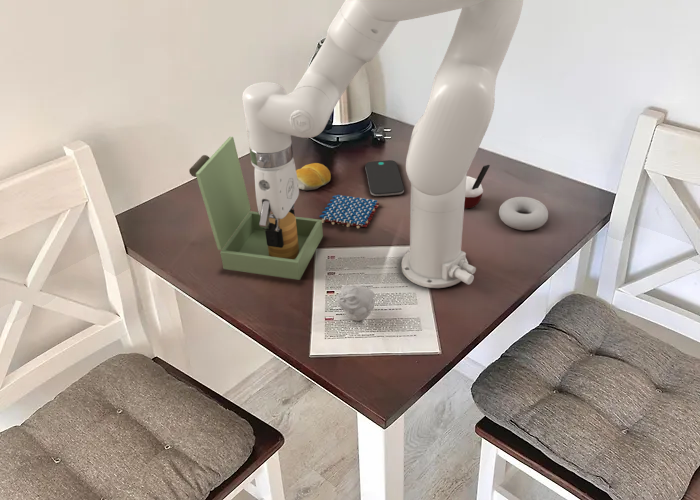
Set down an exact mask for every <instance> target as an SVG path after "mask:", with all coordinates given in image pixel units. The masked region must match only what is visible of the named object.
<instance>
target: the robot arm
mask: <svg viewBox="0 0 700 500" xmlns="http://www.w3.org/2000/svg"><path fill="white" fill-rule="evenodd" d="M343 1H344V2H343V3H342V5H341V7H340V8H339V10H338V11H337V13H336V14H335V16H334V18H333V19H332V21H331V22H330V24H329V26H328V28H327V31H326V37H325V38H324V41H323V43H322V45H321V46H320V48H319V50H318V51H317V53H316V54H315V56H314V58H313V59H312V61H311V63H310V64H309V66H308V68H307V69H306V71H305V72H304V74H303V76H302V77H301V78H300V80H299V81H298V83H297V85H296V86H295V88H294V89H293V90H292V91H291V92H289V93H287V91H286V89H285V87H284V86H283V85H281V84H279V83H277V82H273V81H261V82H255V83H252V84H251V85H248V86H247V87H245V89H244V90H243V92H242V96H241V100H242V108H243V114H244V121H245V128H246V135H247V141H248V147H249V156H250V163H251V165H252V166H253V167H254V189H255V200H256V206H257V212H259V215H260V216H261V218H260V223H259V225H260V227H262V228H263V229H264V230H265V233H266V240H267V245H268V246H271V247H279V248H282V247H283V246H284V242H283V234H282V229H280V219H283V218H284V217H285V216H286V215H287V214H288V212H290V213H292V214H294V216H295V217H296V214H295V213H296V212H295V203H296V201H297V200H298V198H299V196H300V189H299V186H298V179H297V173H296V170H297V168H296V163H295V159H294V152H293V151H294V150H293V141H292V136H293V137H297V138H302V139H310V138H311V139H312V138H314V137H317V136H318V135H320V134H321V133H322V132H323V131H324V130H325V128H326V126H327V124H328V122H329V120H330V118H331V115H332V114H333V111H334V110H335V108H336V106H337V104H338V102H339V100H340V99H341V97H342V96H343V94H344V93H345V91H346V90H347V89H348V87H349V85H350V84H351V83H352V81H353V79H354V78H355V77H356V75H357V73H358V72H359V71H360V70H361V68H362V67H363V66H364V65H365V64H367V63H369V62H371V61H373V60H374V59H375V58H376V57H377V55H378V54H379V52H380V51H381V49H382V47H383V46H384V44H385V43H386V42H387V40H388V39H389V37H390V36H391V34H392V33H393V31H394V30H395V29H396V27H397V25H398V24H399V22H403V21H409V20H415V19H420V18H424V17H429V16H434V15H438V14H442V13H447V12H451V11H456V10H461V11H460V13H459V16H458V19H457V22H456V25H455V28H454V31H453V34H452V36H451V39H450V42H449V44H448V46H447V50H446V51H445V54H444V56H443V58H442V61H441V63H440V64H439V67H438V68H437V71H436V72H435V75H434V78H433V82H432V85H431V89H430V90H431V91H430V94H429V97H428V101H427V104H426V106H425V110H424V113H423V114H422V115H421V116H420V117H419V118H418V120H417V121H416V123H415V124H414V127H413V129H412V133H411V135H410V140H409V145H408V149H407V154H406V159H405V171H406V175H407V178H408V180H409V182H410V203H409V205H410V207H409V210H410V211H409V212H410V215H409V250H408V251H407V252H406V253H404V255H403V256H402V259H401V265H400V266H401V272H402V274H403V276H404V277H406V279H407V280H408V281H409V282H412V283H413V284H415V285H417V286H420V287H424V288H429V289H444V288H448V287H452V286H455V285H457V284H459V283H461V282H463V283H464V284H465V285H472V283H473V282H474V279H475V276H474V274H475V273H476V271H477V267H476V266H473V265H471V264H469V261H468V259H467V257H466V256H467V252H465V251H463V250H462V243H463V227H464V215H465V208H464V202H465V192H466V178H467V176H468V175H467V174H468V172H469V169H470V168H471V165H472V163H473V161H474V159H475V157H476V154H477V152H478V150H479V148H480V146H481V144H482V141H483V139H484V137H485V136H486V132H487V130H488V128H489V125H490V123H491V120H492V117H493V114H494V109H495V101H496V83H497V78H498V75H499V72H500V69H501V67H502V65H503V62H504V59H505V57H506V55H507V53H508V50H509V47H510V45H511V42H512V40H513V38H514V35H515V32H516V30H517V26H518V24H519V21H520V17H521V14H522V10H523V5H524V0H343ZM271 213H273V214H271ZM269 218H275V224H273V223H270V222H269Z"/></svg>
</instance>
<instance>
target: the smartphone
mask: <svg viewBox="0 0 700 500" xmlns="http://www.w3.org/2000/svg"><path fill="white" fill-rule="evenodd" d="M364 167H365V172H366V177H367V182H368V187H369V192H370V194H371V195H372V196H374V197H388V196H390V197H391V196H399V195H402V194H403V193H405V187H404V183H403V180H402V176H401V173H400V169H399V166H398V163H397V162H396V161H395V160H393V159H391V160H390V159H389V160H388V159H387V160H386V159H385V160H373V161H368V162H367V163H365V166H364Z"/></svg>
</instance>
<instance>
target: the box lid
mask: <svg viewBox="0 0 700 500" xmlns="http://www.w3.org/2000/svg"><path fill="white" fill-rule="evenodd" d="M189 174H190V175H191V177H193V178H196V180H197V184H198V186H199V190H200V193H201V197H202V200H203V203H204V208H205V211H206V214H207V217H208V221H209V225H210V227H211V231H212V234H213V238H214V241H215V245H216V249H217V251H221V250H222V249H223V248H224V246H225V245H226V243H227V242H228V241H229V239H230V238H231V237H232V235H233V234H234V232H235V231H236V230H237V228H238V227H239V225H240V224H241V223H242V221H243V220H244V219H245V217H246V216H247V214H248V213H249V212H250V211H251V210H252V207H251V203H250V199H249V195H248V192H247V188H246V187H247V186H246V184H245V183H246V182H245V179H244V176H243V171H242V168H241V163H240V159H239V155H238V151H237V147H236V143H235V139H234V136H229V137H228V138H227V139H226V140H225V141H224V142H223V143H222V144H221V146H219V148H217V149H216V151H215V152H213V154H212V155H211V156H208V155H207V154H203V155H201V156H200V157H199V159H197V161H196V162H195V163H194V164H193V165H192V166H191V167H190V168H189Z"/></svg>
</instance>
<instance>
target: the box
mask: <svg viewBox="0 0 700 500" xmlns="http://www.w3.org/2000/svg"><path fill="white" fill-rule="evenodd" d="M260 218H261V216H260V215H259V212H258V211H251V210H250V211H249V213H248V214H247V215H246V217H245V218H244V220H243V221H242V222H241V224H240V225H239V227H238V228H237V229H236V231H235V232H234V233H233V235H232V236H231V238H230V239H229V240H228V242H227V243H226V244H225V246H224V247H223V249H222V250H220V252H219V253H220V257H221V258H220V259H221V262H222V268H223V270H229V271H235V272H243V273H249V274H257V275H263V276H269V277H277V278H284V279H290V280H297V281H300V280H301V279H302V277H303V275H304V273H305V271H306V269H307V267H308V266H309V263H310V261H311V260H312V258H313V256H314V254H315V252H316V250H317V248H318V247H319V244H320V243H321V241H322V239H323V237H324V231H323V223H322V219H321V220H320V219H319V218H318V219H317V218H311V217H304V216H303V217H302V216H295V218H296V226H297V235H298V245H299V254H298V256H297V257H296V258H295V259H286V258H279V257H271V256H269V252H268V245H267V240H266V233H265V230H264V229H263V228H262V227H260V225H259V223H260Z"/></svg>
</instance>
